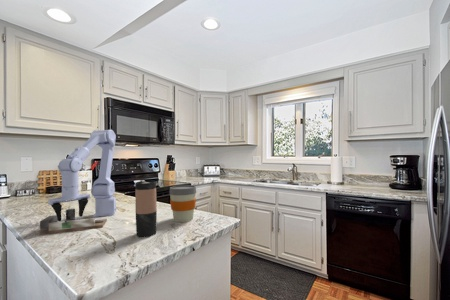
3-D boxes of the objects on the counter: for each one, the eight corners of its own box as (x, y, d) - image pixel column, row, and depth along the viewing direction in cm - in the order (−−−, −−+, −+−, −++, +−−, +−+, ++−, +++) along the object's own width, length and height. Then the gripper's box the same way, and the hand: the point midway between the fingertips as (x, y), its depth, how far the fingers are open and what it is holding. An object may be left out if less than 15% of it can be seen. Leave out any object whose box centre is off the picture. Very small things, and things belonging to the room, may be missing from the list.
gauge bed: (106, 221, 100) (106, 210, 100) (102, 227, 91) (102, 215, 91) (49, 227, 93) (49, 215, 93) (39, 234, 84) (39, 221, 84)
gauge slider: (78, 220, 95) (78, 207, 95) (71, 226, 87) (71, 212, 87) (67, 221, 94) (67, 208, 94) (59, 228, 86) (59, 213, 86)
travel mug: (161, 231, 85) (160, 180, 85) (148, 238, 78) (147, 183, 78) (145, 229, 87) (144, 180, 88) (131, 236, 80) (130, 183, 80)
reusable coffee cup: (192, 213, 109) (191, 184, 109) (200, 220, 98) (199, 187, 98) (167, 217, 104) (166, 186, 104) (172, 224, 92) (172, 190, 93)
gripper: (85, 183, 100) (85, 213, 100) (46, 188, 88) (46, 221, 88) (91, 184, 96) (92, 215, 95) (51, 189, 84) (51, 224, 84)
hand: (70, 218), depth 91 cm, fingers open, 7 cm apart
